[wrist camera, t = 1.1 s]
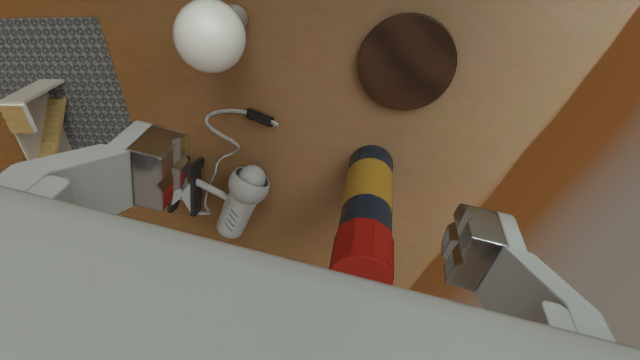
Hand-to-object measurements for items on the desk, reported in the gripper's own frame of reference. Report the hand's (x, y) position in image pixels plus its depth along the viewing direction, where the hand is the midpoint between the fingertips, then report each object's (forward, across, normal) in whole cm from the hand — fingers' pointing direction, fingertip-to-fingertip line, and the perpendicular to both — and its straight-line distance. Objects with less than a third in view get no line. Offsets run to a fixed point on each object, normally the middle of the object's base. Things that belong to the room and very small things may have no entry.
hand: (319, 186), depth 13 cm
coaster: (+34, -6, +6) cm, 35 cm away
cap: (+20, -5, +19) cm, 29 cm away
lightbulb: (+35, +13, +6) cm, 37 cm away
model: (+35, +34, +24) cm, 54 cm away
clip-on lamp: (+35, +12, +24) cm, 44 cm away
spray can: (+34, -5, +19) cm, 40 cm away
